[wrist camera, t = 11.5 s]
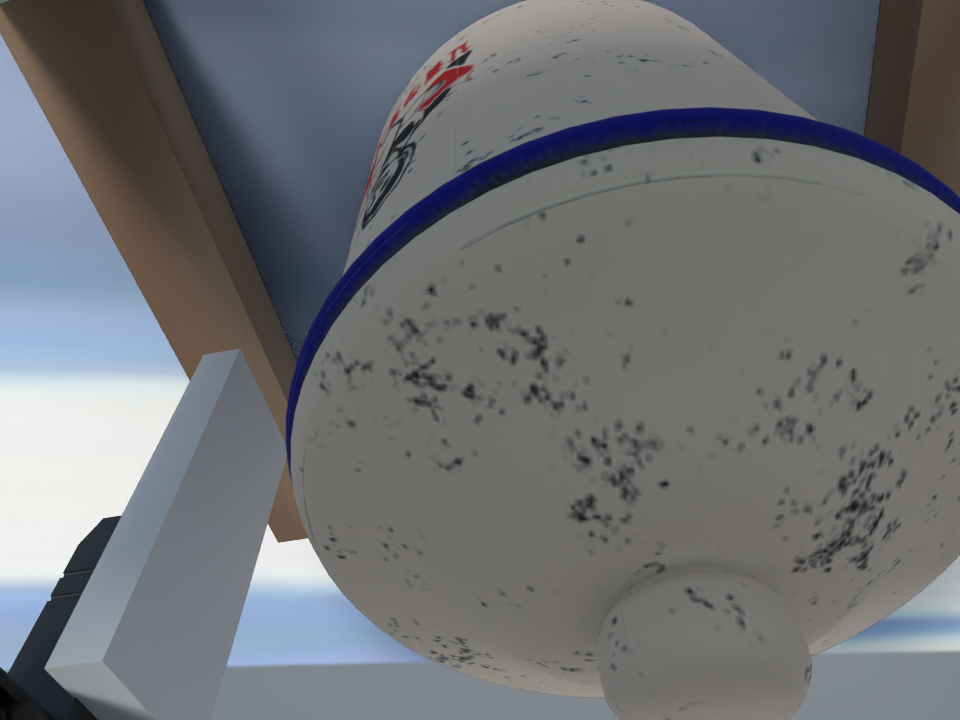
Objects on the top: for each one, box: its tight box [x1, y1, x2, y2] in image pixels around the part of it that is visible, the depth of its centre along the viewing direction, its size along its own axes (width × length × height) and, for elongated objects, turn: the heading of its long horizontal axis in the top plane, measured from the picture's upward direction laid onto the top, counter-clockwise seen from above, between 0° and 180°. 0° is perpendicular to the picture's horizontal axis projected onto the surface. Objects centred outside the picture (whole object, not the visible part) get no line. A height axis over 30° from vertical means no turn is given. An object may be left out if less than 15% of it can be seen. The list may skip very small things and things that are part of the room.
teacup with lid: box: [286, 0, 960, 720], centre depth 12 cm, size 12×9×12 cm
